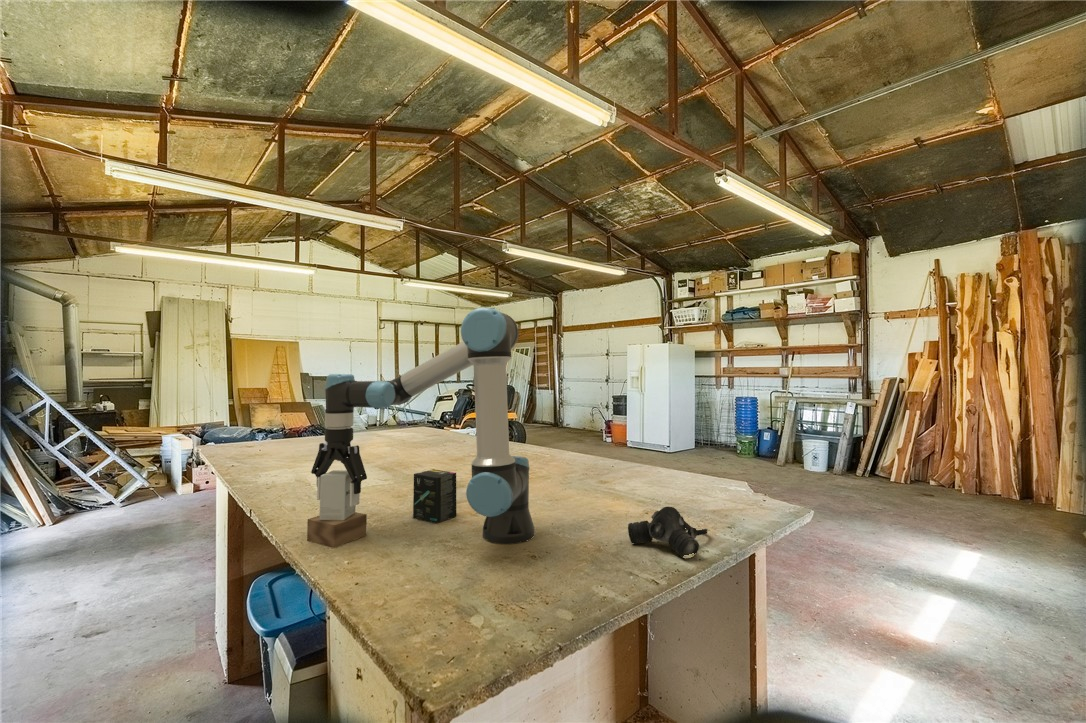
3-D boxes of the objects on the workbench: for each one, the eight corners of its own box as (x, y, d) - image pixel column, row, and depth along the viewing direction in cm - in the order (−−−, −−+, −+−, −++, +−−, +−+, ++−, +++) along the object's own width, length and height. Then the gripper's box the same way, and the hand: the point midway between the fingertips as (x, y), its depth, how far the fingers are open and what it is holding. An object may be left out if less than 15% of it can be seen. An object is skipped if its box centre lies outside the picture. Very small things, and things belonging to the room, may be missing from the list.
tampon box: (457, 516, 153) (457, 472, 153) (436, 524, 145) (437, 477, 146) (433, 511, 159) (433, 468, 159) (412, 518, 151) (413, 473, 152)
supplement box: (344, 521, 129) (345, 475, 129) (318, 520, 129) (319, 474, 130) (356, 513, 136) (357, 469, 137) (331, 512, 137) (332, 469, 137)
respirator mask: (618, 535, 129) (637, 487, 136) (649, 567, 140) (664, 521, 148) (687, 554, 115) (703, 500, 122) (714, 588, 127) (728, 536, 134)
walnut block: (366, 535, 135) (366, 514, 135) (333, 547, 125) (334, 525, 125) (340, 529, 140) (340, 509, 140) (307, 540, 130) (307, 519, 130)
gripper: (380, 428, 131) (379, 504, 131) (321, 423, 142) (320, 493, 142) (359, 431, 124) (358, 511, 124) (299, 426, 136) (297, 499, 135)
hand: (337, 502), depth 133 cm, fingers open, 13 cm apart
